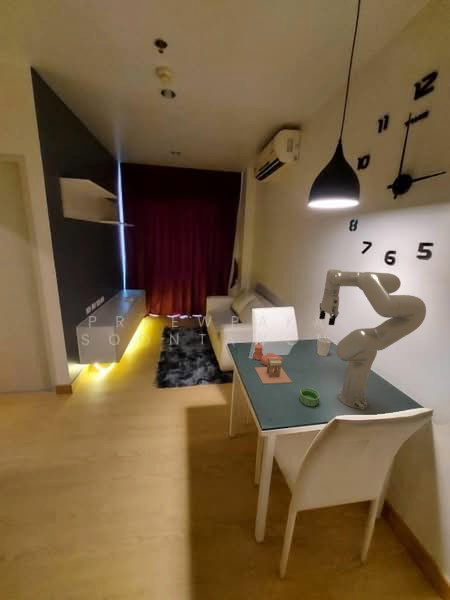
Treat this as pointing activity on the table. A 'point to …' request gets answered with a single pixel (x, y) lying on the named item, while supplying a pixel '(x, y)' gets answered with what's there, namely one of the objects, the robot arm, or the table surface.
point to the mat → (274, 379)
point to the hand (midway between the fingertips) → (326, 321)
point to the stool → (273, 362)
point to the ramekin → (309, 396)
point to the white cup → (323, 346)
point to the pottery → (259, 355)
